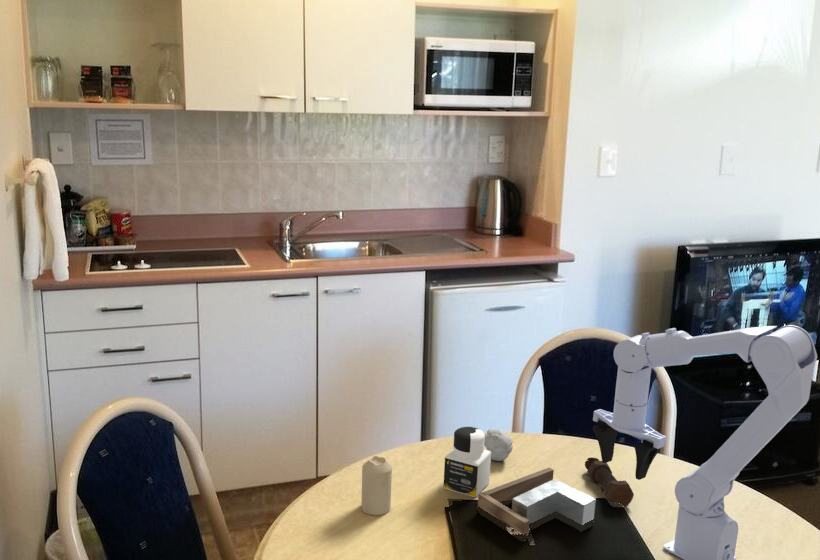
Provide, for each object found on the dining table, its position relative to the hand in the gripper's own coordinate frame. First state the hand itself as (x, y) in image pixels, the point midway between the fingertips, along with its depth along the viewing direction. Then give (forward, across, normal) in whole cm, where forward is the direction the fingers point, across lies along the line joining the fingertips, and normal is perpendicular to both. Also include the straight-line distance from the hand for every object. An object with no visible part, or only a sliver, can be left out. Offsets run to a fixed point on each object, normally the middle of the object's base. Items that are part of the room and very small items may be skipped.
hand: (623, 469), depth 143 cm
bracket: (+10, +5, +13) cm, 17 cm away
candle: (+10, +28, +36) cm, 47 cm away
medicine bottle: (+10, +25, +16) cm, 31 cm away
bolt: (+10, +9, -7) cm, 15 cm away
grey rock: (+10, +30, +3) cm, 32 cm away
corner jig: (+10, +10, +12) cm, 18 cm away
